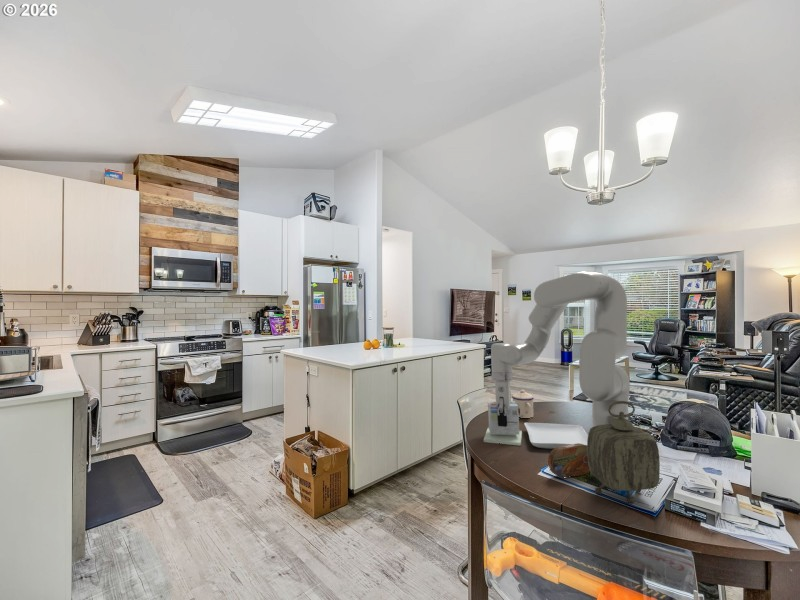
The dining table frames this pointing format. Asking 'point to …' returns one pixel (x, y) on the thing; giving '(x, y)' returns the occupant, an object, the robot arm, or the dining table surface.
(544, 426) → the salad plate
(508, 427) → the light bulb box
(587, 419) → the dining table surface
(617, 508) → the dining table surface
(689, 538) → the dining table surface
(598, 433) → the tabletop clock
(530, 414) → the teacup with lid
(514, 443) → the sage mat
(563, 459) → the tin
